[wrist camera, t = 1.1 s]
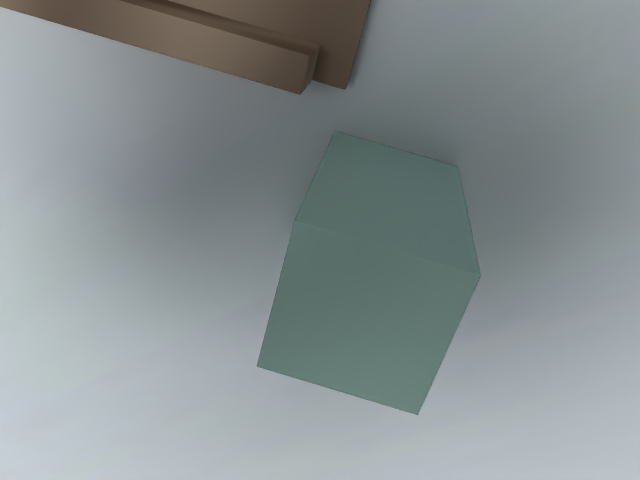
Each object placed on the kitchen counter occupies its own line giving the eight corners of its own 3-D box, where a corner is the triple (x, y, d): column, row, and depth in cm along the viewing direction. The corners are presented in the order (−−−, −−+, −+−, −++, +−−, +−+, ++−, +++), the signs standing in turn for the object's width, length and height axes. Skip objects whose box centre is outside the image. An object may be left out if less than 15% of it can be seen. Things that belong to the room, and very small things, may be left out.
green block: (457, 166, 18) (481, 275, 12) (416, 272, 20) (417, 414, 14) (335, 130, 18) (294, 220, 12) (304, 239, 20) (256, 366, 14)
